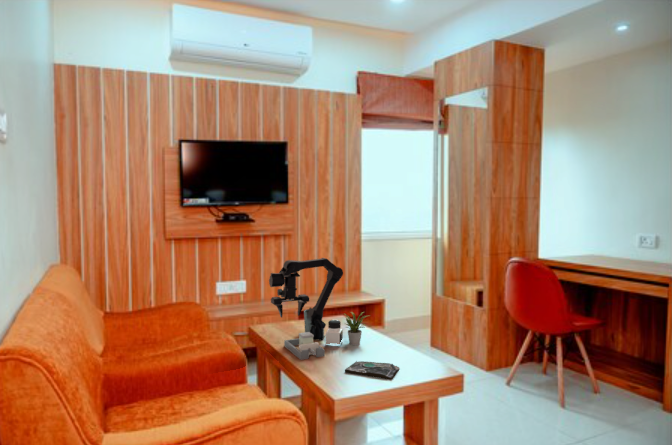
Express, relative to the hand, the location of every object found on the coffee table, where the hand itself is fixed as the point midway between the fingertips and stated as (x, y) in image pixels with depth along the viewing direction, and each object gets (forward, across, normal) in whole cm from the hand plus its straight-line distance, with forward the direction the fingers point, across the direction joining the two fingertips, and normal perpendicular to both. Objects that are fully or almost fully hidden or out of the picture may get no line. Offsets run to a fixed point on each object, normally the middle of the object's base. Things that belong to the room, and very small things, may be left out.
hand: (290, 316), depth 241 cm
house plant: (+13, -30, +16) cm, 36 cm away
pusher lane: (+13, -1, +16) cm, 21 cm away
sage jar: (+13, -1, +19) cm, 23 cm away
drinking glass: (+13, -17, -9) cm, 23 cm away
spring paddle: (+13, -1, +25) cm, 28 cm away
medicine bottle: (+13, -19, +13) cm, 26 cm away
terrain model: (+14, -18, +51) cm, 56 cm away
